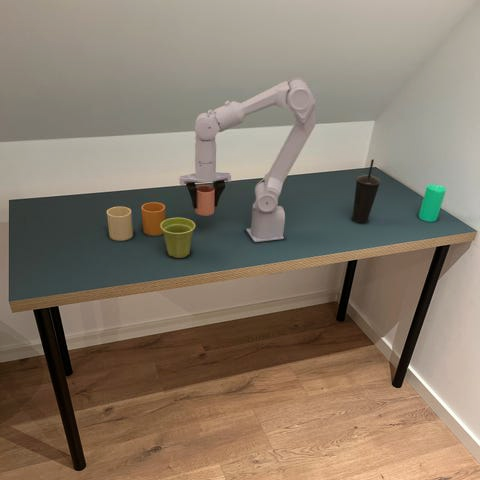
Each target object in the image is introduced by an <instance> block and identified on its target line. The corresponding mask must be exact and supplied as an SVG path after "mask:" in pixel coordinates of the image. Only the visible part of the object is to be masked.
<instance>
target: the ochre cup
mask: <svg viewBox="0 0 480 480" xmlns="http://www.w3.org/2000/svg"><path fill="white" fill-rule="evenodd" d="M140 209H141V223H142V231H143V233H144V235H145V234H146V235H148V236H153V237H155V236H161V235H164V233H163V230H162V229H161V227H160V225H161V223H162V222H163V221H164V220H167V218H166V217H167V215H166V205H165V204H163V203H162V202H157V201H156V202H155V201H149V202H147V203H146V202H145V203H144V204H142V205H141V208H140Z"/></svg>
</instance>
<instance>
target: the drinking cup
mask: <svg viewBox="0 0 480 480" xmlns="http://www.w3.org/2000/svg"><path fill="white" fill-rule="evenodd" d="M374 161H375V159H374V158H373V159H371V161H370V166H369V170H368V174H363V175H358V176H357V177H356V178H355V182H356V183H355V191H354V201H353V210H352V219H351V220H352V221H353V222H354V223H356V224H366V223H368V220H369V217H370V214H371V212H372V208H373V205H374V202H375V199H376V196H377V193H378V189H379V187H380V185H381V183H382V180H381V179H380V178H378V177H376V176H375V175H372V171H373V166H374Z"/></svg>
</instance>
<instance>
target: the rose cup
mask: <svg viewBox="0 0 480 480" xmlns="http://www.w3.org/2000/svg"><path fill="white" fill-rule="evenodd" d="M196 188H197V196H196V201H197V208H195V209H194V212H195V214H196V215H199V216H205V217H208V216H212V215H214V213H215V211H216V210H215V208H216V207H215V188H214V187H213V185H209V184H201V185H196Z"/></svg>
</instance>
